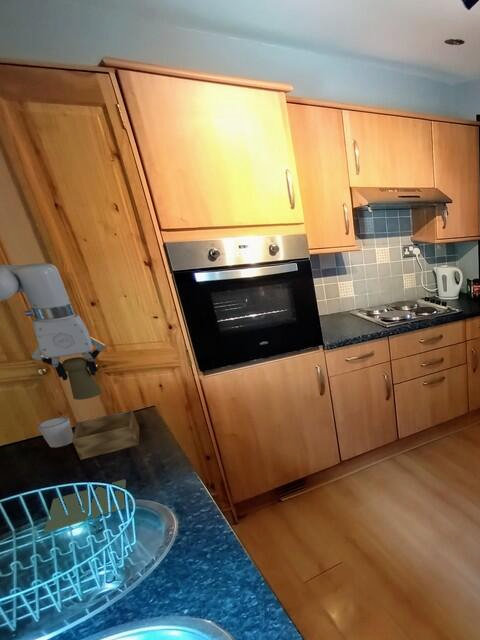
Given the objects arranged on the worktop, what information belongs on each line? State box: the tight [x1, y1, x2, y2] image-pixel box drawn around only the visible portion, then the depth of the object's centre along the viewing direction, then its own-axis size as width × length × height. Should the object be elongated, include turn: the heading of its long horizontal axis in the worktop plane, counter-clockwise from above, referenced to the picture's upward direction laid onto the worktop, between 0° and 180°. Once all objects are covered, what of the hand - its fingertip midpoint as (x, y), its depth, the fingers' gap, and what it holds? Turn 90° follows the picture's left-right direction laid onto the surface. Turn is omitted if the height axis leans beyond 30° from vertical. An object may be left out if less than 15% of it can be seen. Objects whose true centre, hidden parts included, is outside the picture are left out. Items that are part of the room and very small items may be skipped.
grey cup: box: [36, 416, 74, 448], centre depth 135 cm, size 7×7×7 cm
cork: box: [61, 356, 102, 401], centre depth 125 cm, size 6×6×11 cm
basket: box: [72, 409, 140, 460], centre depth 135 cm, size 13×13×6 cm
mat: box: [44, 478, 127, 534], centre depth 110 cm, size 14×14×1 cm
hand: (79, 375), depth 125 cm, fingers closed on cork, 5 cm apart
